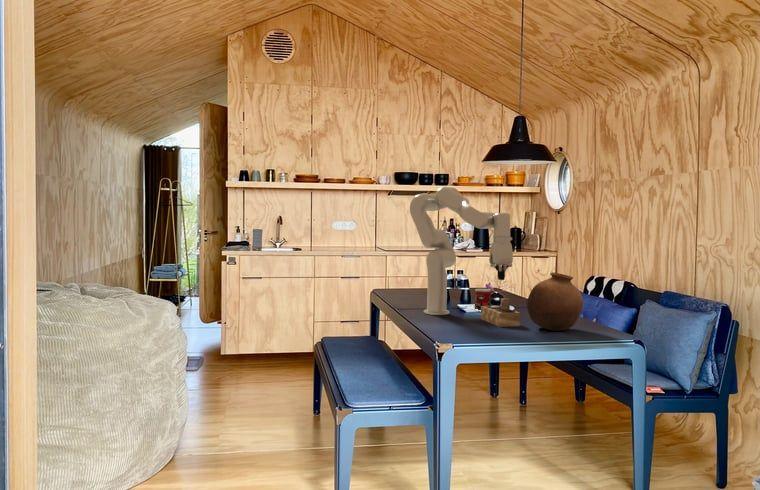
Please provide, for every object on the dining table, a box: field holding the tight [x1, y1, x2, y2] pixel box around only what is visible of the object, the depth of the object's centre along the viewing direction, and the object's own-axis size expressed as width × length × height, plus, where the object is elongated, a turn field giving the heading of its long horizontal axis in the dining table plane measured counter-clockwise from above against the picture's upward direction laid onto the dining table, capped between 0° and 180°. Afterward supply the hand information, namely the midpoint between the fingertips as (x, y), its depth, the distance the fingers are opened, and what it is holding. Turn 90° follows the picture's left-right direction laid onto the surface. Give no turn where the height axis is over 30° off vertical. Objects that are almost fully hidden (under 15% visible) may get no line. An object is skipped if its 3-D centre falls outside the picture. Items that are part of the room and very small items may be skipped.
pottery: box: [526, 271, 584, 332], centre depth 266 cm, size 23×23×25 cm
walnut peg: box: [500, 297, 511, 311], centre depth 277 cm, size 4×4×7 cm
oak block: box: [480, 304, 521, 328], centre depth 281 cm, size 19×10×7 cm, turn 17°
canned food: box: [474, 288, 492, 310], centre depth 312 cm, size 8×8×11 cm
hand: (501, 279), depth 281 cm, fingers closed
